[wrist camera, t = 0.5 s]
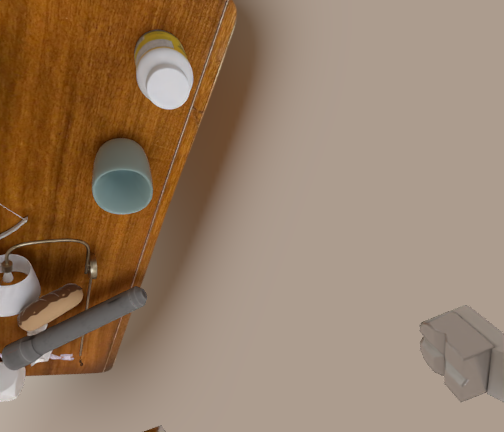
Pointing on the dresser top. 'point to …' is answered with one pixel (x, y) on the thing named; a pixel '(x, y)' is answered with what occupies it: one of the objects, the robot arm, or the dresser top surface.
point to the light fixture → (32, 280)
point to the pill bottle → (163, 69)
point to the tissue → (46, 355)
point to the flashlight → (71, 328)
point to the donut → (49, 307)
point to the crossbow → (14, 226)
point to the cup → (122, 177)
